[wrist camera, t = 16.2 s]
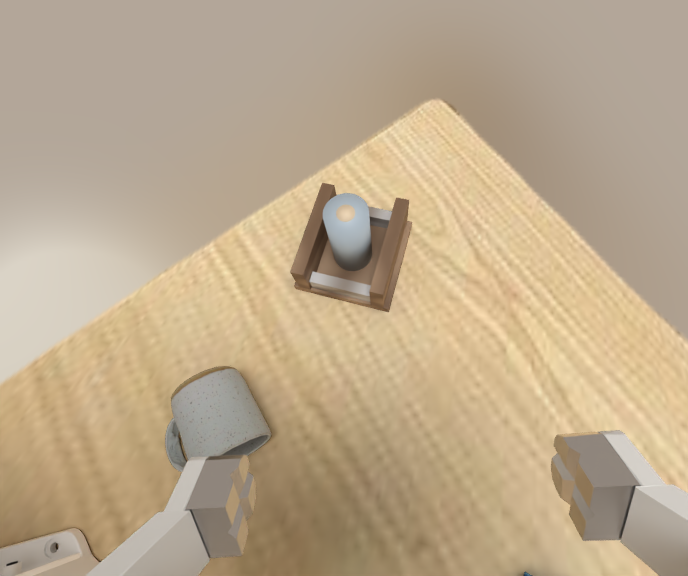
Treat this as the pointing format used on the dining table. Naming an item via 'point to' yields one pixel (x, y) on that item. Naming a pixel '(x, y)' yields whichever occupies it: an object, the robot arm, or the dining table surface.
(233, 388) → the ceramic mug
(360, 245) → the paper roll
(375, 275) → the holder
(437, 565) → the dining table surface
